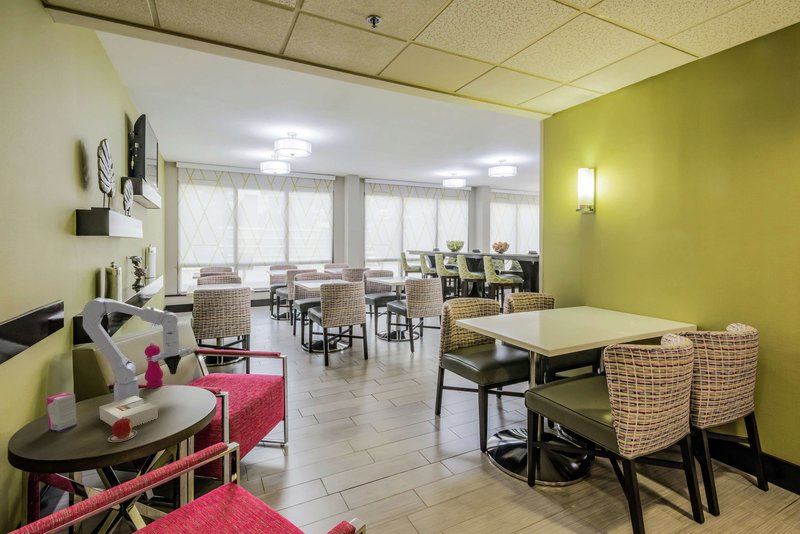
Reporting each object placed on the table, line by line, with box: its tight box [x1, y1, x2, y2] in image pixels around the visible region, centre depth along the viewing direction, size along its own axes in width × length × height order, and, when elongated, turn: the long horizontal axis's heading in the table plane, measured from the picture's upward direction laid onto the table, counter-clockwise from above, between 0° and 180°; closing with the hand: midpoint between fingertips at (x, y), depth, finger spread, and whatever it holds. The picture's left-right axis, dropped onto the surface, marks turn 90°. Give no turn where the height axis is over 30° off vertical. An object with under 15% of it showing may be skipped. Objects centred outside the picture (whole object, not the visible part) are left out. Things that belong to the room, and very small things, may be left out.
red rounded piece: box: [107, 417, 138, 443], centre depth 133 cm, size 8×8×6 cm
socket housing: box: [98, 396, 159, 428], centre depth 147 cm, size 18×12×5 cm, turn 55°
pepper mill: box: [144, 341, 164, 389], centre depth 179 cm, size 7×7×20 cm
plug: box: [126, 401, 147, 409], centre depth 148 cm, size 4×6×4 cm
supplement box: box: [46, 392, 78, 433], centre depth 140 cm, size 6×6×12 cm
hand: (173, 373), depth 167 cm, fingers closed
